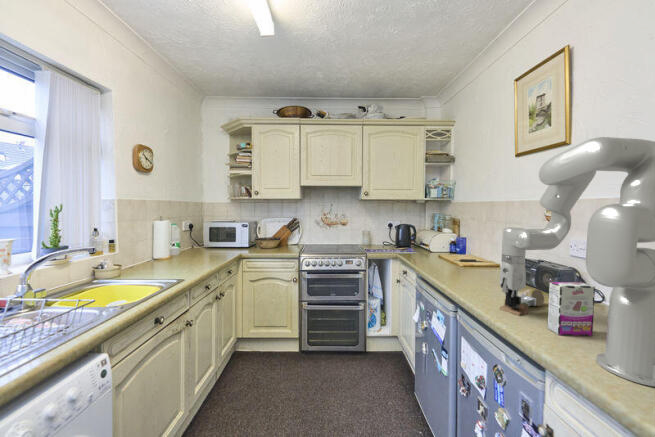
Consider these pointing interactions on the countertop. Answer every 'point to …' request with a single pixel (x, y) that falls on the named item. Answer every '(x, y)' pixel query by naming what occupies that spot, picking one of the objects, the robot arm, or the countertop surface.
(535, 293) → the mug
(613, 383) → the countertop surface
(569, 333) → the candy bar box
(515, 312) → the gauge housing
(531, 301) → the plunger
